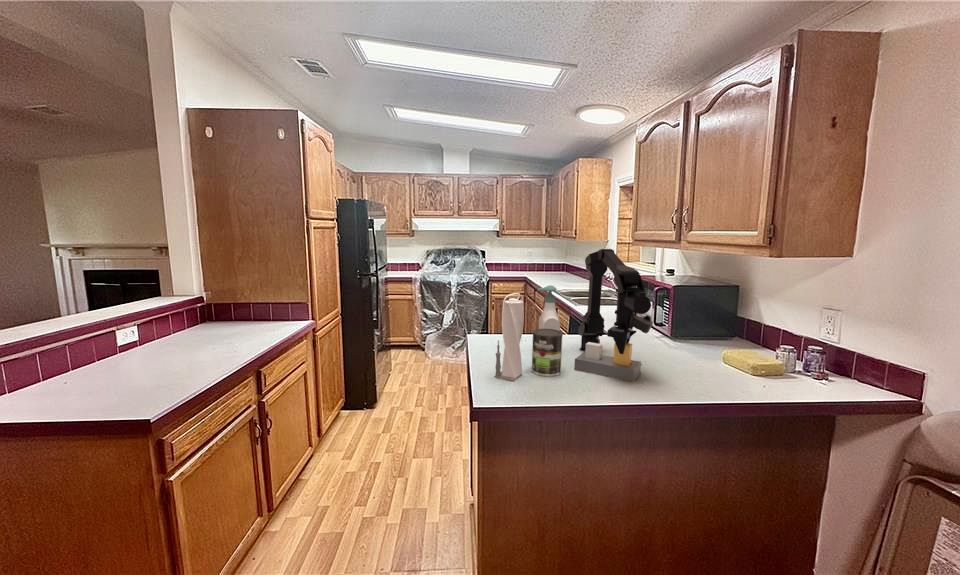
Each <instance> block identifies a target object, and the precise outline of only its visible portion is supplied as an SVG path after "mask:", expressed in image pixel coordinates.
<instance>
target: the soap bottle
mask: <svg viewBox="0 0 960 575" xmlns="http://www.w3.org/2000/svg"><path fill="white" fill-rule="evenodd" d="M537 290H538V291H540V292H541V291H542V292H548V294H547V295H545V297H544V306H543V307H544V308H543V309H542V312H541V315H540V316H539V319H538V329H554V330H559V331H561V323H560V319H559V316H558V313H557V310H556V297H555V295H552V294H553V293H552V292H557V287H556V286H554V285H547V286H544V287H541V288H540V287H539V288H537Z"/></svg>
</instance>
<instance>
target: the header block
mask: <svg viewBox="0 0 960 575" xmlns="http://www.w3.org/2000/svg"><path fill="white" fill-rule="evenodd" d="M641 366H642V362H641V361H639V360H632V359H631V365H630V366H626V365H621V364H615V363H614V356H610V355H605V354H602V359H601V360H600V361H599V360H594V359H589V358H585V351H583V352H582V353H581V354H579V355H578V356H576V357H575V358H574V370H575V371H580V372H583V373H589V374H593V375H597V376H603V377H606V378H607V377H609V378H611V379H617V380H622V381H627V382H632V383H634V382H635V381H636V379H637V378H638V377H639V376H640V375H641V368H642V367H641Z"/></svg>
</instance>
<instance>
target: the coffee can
mask: <svg viewBox="0 0 960 575" xmlns="http://www.w3.org/2000/svg"><path fill="white" fill-rule="evenodd" d="M563 334H564V333H563V332H562V331H561V330H560V331H559V330H554V329H539V328H537V329H534V330H532V351H531V352H532V353H531V355H532V356H531V357H532V358H531V361H532V362H531V372H532V373H533V374H535V375H537V376H541V377H556V376H560V374H561V373H562V354H563V352H562V350H563Z"/></svg>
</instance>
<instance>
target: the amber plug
mask: <svg viewBox="0 0 960 575" xmlns="http://www.w3.org/2000/svg"><path fill="white" fill-rule="evenodd" d="M613 350H614V352H613V357H614V363H615V364H621V365H626V366H630V365H631V360H632V353H633V352H632V351H633V343H630V342H629V343H626V345H625V350H624V353H623V354H620V353H619V350H618V348H617V346H616V343H615V342H614V349H613Z"/></svg>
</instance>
